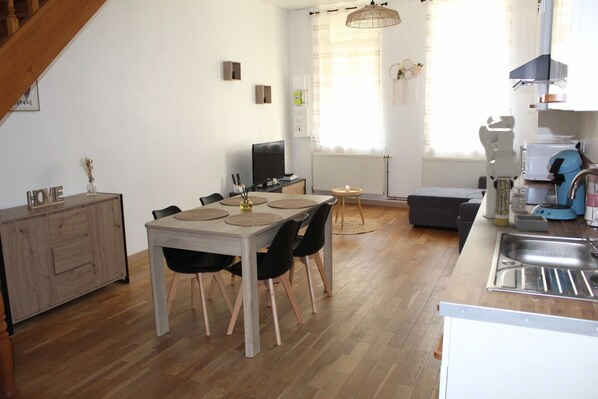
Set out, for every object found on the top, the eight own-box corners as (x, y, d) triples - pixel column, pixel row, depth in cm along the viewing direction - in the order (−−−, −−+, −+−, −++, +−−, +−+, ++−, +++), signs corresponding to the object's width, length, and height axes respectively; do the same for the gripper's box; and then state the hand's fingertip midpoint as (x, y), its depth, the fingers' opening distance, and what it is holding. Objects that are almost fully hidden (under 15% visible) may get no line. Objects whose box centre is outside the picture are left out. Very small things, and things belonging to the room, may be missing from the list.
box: (513, 224, 257) (514, 214, 256) (542, 225, 253) (543, 215, 252) (517, 230, 244) (517, 220, 244) (547, 231, 240) (547, 221, 239)
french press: (530, 211, 290) (532, 168, 285) (510, 211, 290) (512, 169, 286) (522, 208, 299) (524, 167, 295) (503, 208, 300) (505, 167, 295)
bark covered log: (510, 226, 252) (512, 178, 248) (496, 226, 253) (498, 178, 249) (507, 223, 258) (509, 176, 254) (493, 223, 260) (495, 176, 256)
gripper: (522, 153, 251) (520, 188, 254) (486, 153, 256) (484, 187, 259) (524, 154, 244) (522, 190, 247) (487, 154, 249) (485, 189, 252)
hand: (503, 188), depth 253 cm, fingers closed on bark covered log, 6 cm apart
